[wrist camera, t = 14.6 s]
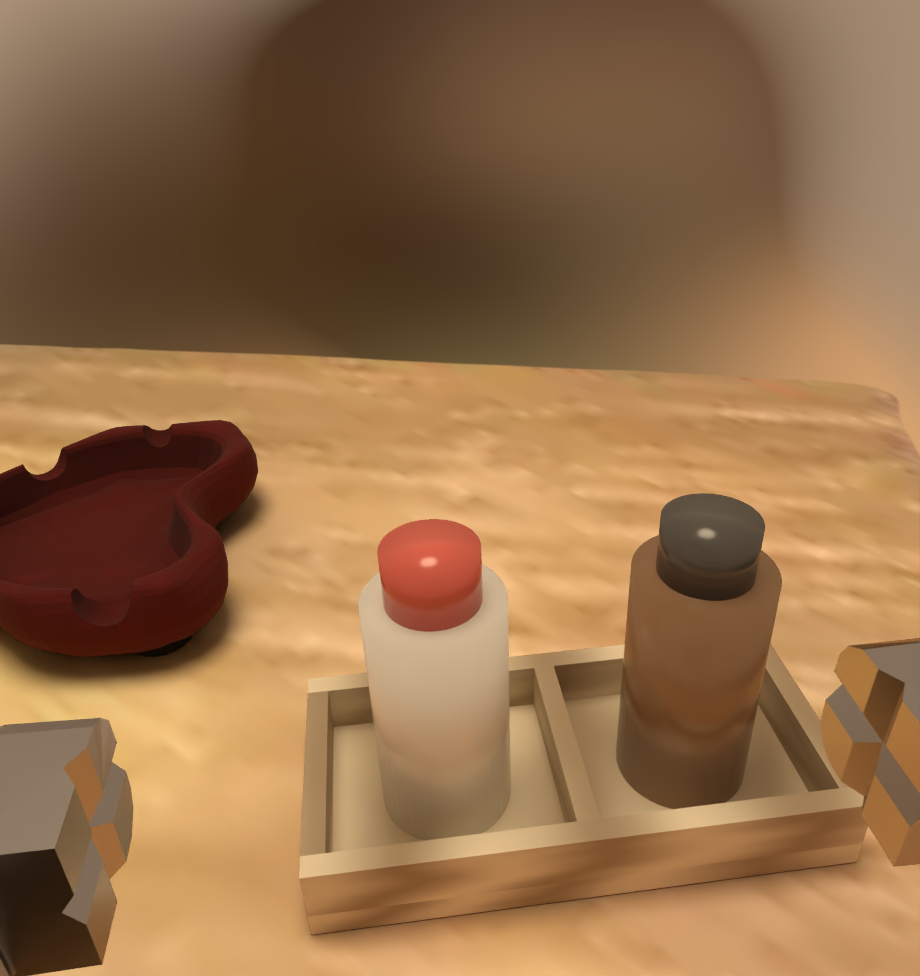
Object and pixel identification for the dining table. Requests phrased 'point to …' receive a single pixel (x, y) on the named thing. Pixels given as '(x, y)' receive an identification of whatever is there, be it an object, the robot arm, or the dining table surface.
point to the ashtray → (122, 539)
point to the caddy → (560, 805)
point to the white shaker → (438, 680)
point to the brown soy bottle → (695, 651)
